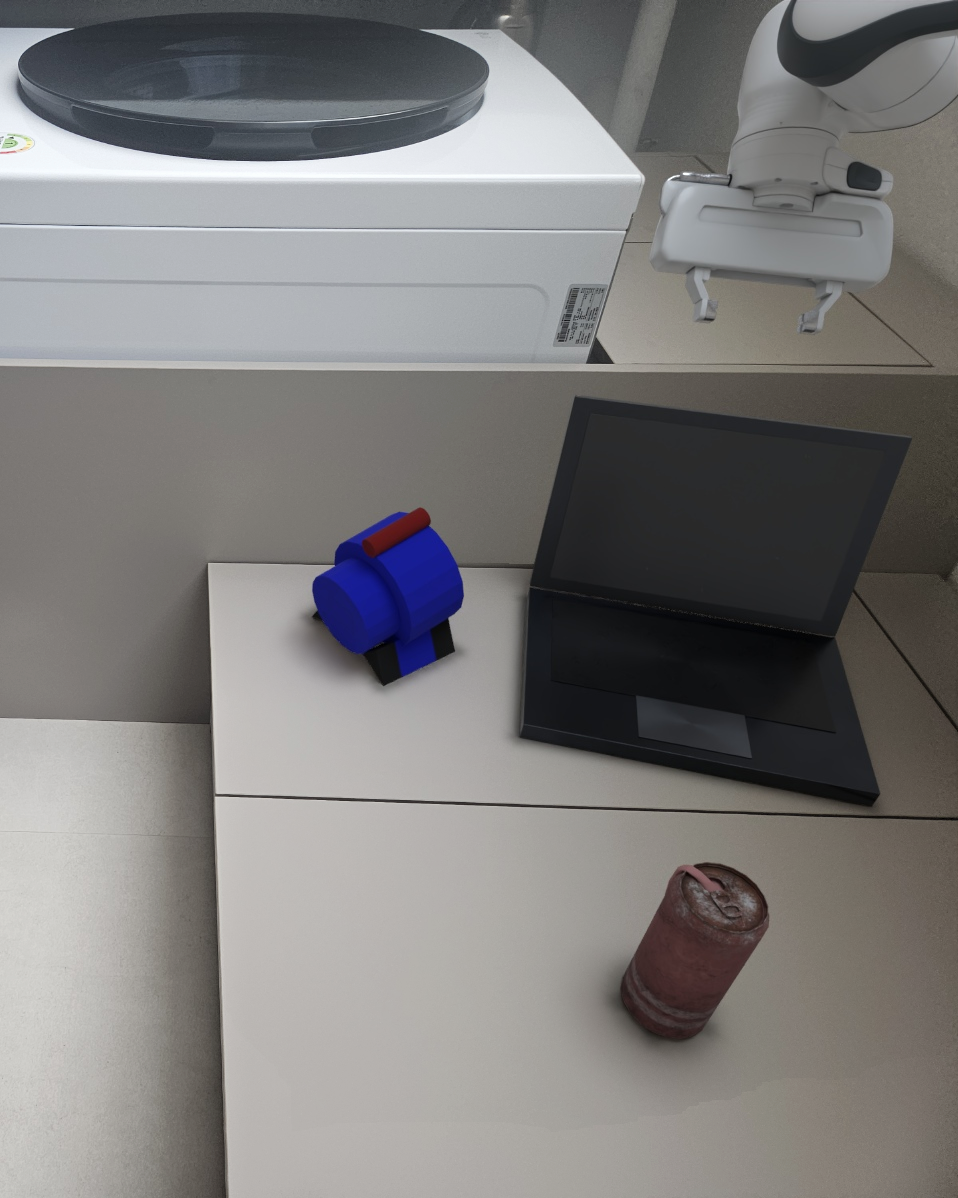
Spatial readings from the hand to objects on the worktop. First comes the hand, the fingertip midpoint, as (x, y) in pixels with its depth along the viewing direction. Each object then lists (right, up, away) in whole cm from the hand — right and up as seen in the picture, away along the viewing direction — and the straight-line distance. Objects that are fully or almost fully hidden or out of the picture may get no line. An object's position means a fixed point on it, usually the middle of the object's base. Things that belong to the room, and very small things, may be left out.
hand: (755, 327), depth 97 cm
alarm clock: (-33, -30, +12) cm, 46 cm away
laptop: (-4, -35, +5) cm, 35 cm away
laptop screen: (-1, -17, +7) cm, 19 cm away
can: (-18, -56, -19) cm, 62 cm away
